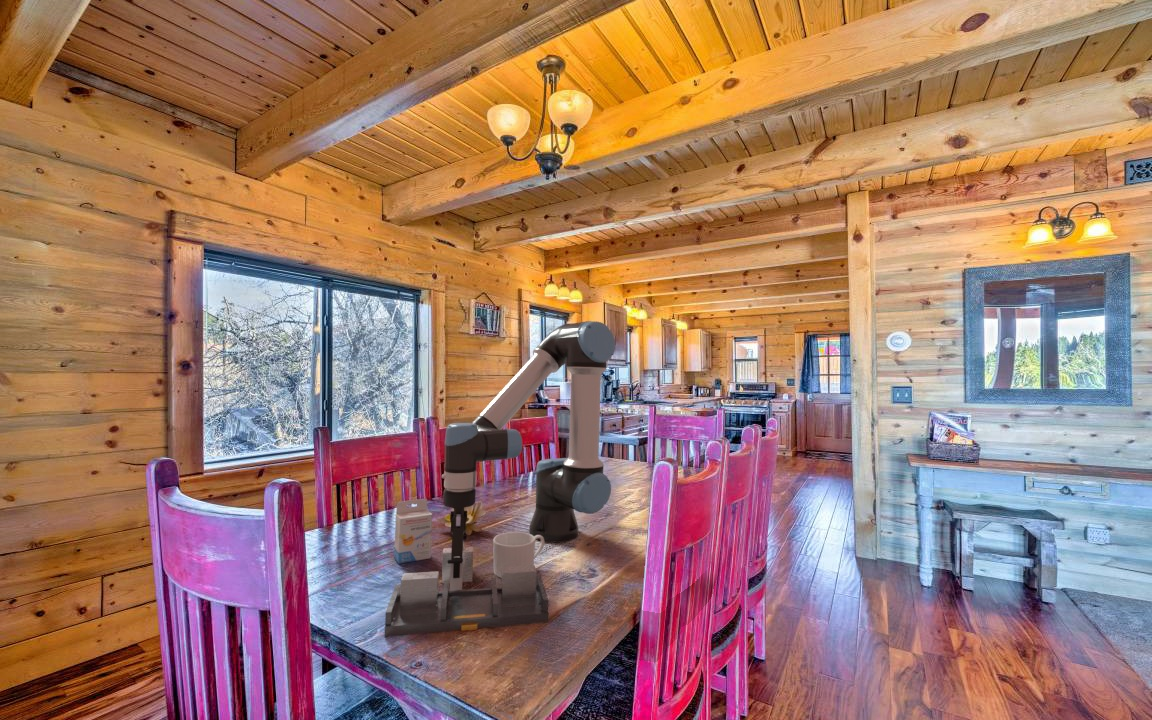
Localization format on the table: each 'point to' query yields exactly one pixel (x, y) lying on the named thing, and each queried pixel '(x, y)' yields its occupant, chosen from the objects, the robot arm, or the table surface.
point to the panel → (466, 564)
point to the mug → (514, 550)
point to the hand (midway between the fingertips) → (456, 578)
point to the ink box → (412, 531)
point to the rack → (466, 603)
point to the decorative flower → (471, 517)
